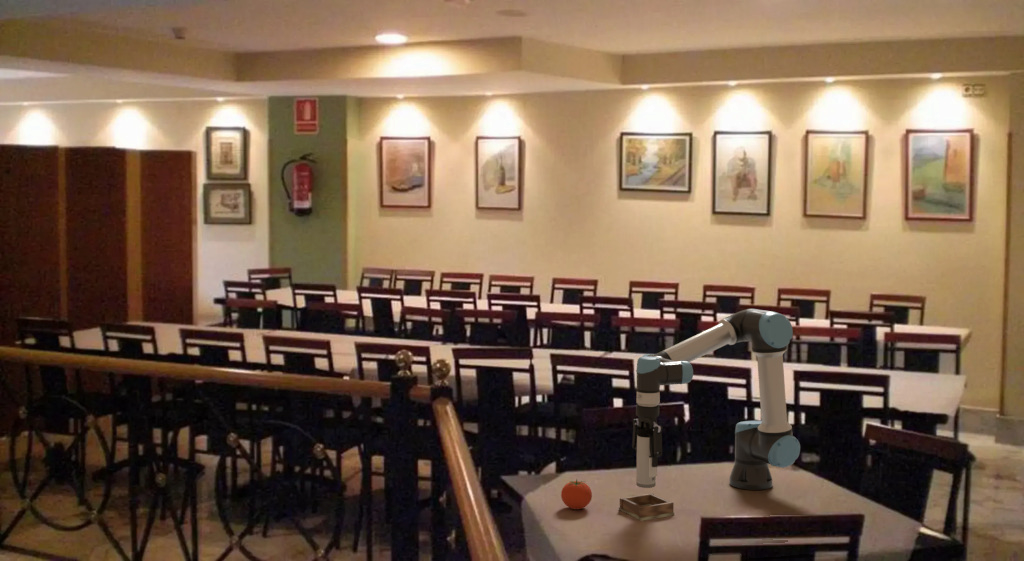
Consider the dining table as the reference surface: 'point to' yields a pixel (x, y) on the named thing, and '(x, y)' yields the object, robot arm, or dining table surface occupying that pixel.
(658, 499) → the walnut caddy
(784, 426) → the robot arm
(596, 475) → the dining table surface
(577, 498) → the tomato
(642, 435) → the travel mug
